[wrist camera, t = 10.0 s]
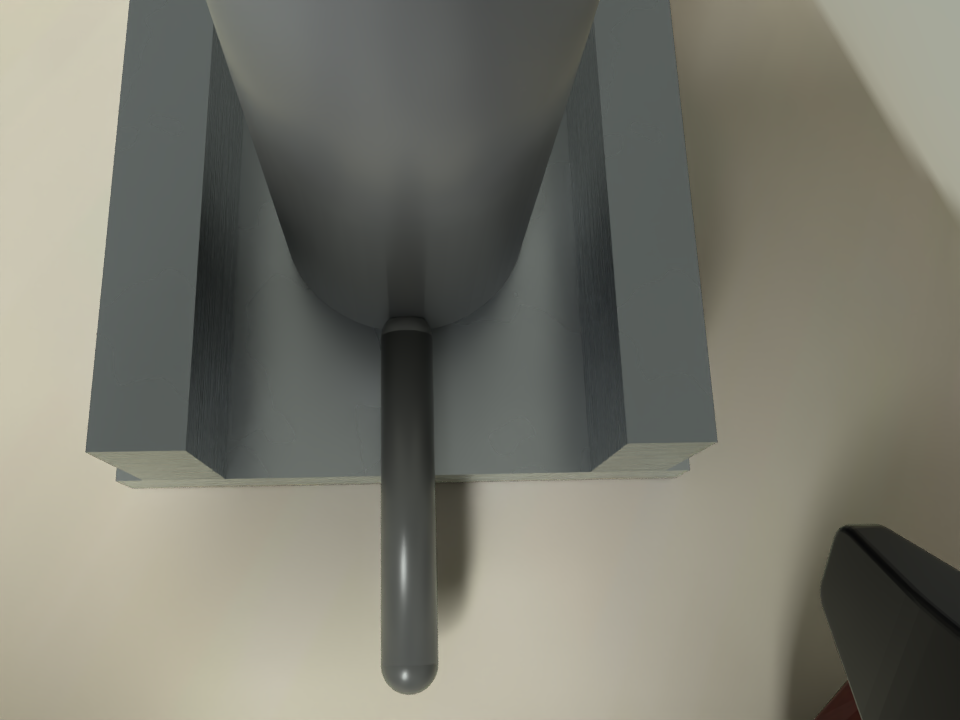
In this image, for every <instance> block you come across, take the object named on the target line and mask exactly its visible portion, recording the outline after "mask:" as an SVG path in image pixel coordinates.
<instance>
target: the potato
mask: <svg viewBox="0 0 960 720" xmlns="http://www.w3.org/2000/svg"><path fill="white" fill-rule="evenodd" d="M814 720H862V719H861V716H860V714H859V711H858V708H857V705H856V702H855V699H854V696H853V693H852V691H851V688H850V685H849V682H848V680H847V682H846V683H845V684H844V685H843V686H842V687H841V689H840V690H839V691H838V692H837V693H836V694H835V696H834V697H833V698H832V699H831V700H830V701H829V703H828V704H827V705H826V706H825V707H824V708H823V710H822V711H821V712H820V713H819V714H818V716H817V717H816V718H815V719H814Z"/></svg>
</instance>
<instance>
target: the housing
mask: <svg viewBox="0 0 960 720" xmlns="http://www.w3.org/2000/svg"><path fill="white" fill-rule="evenodd" d="M431 331H432V338H433V394H434V451H435V482H485V481H536V480H587V479H638V478H676V477H678V476H680V475H682V474H684V473H686V472H688V471H690V465H689V457H691V456H693V455H695V454H697V453H699V452H700V451H702V450H704V449H706V448H708V447H710V446H711V445H713V444H715V443H717V442H718V441H717V432H716V422H715V413H714V404H713V395H712V386H711V377H710V368H709V358H708V349H707V340H706V331H705V322H704V313H703V304H702V294H701V285H700V276H699V267H698V258H697V249H696V240H695V230H694V221H693V212H692V203H691V194H690V185H689V175H688V166H687V157H686V148H685V139H684V130H683V121H682V111H681V102H680V93H679V84H678V75H677V66H676V57H675V47H674V38H673V29H672V20H671V11H670V2H669V0H600V1H599V4H598V7H597V10H596V13H595V17H594V20H593V23H592V26H591V29H590V32H589V35H588V39H587V42H586V45H585V48H584V51H583V54H582V57H581V61H580V64H579V67H578V70H577V73H576V76H575V80H574V83H573V86H572V89H571V92H570V95H569V98H568V102H567V105H566V108H565V111H564V114H563V117H562V120H561V124H560V127H559V130H558V133H557V136H556V139H555V142H554V146H553V149H552V152H551V155H550V158H549V161H548V165H547V168H546V171H545V174H544V177H543V180H542V183H541V187H540V190H539V193H538V196H537V199H536V202H535V205H534V209H533V212H532V215H531V218H530V221H529V224H528V228H527V231H526V234H525V237H524V240H523V243H522V246H521V250H520V253H519V256H518V259H517V262H516V264H515V266H514V268H513V270H512V272H511V274H510V276H509V277H508V279H507V280H506V282H505V283H504V285H503V286H502V287H501V288H500V290H499V291H498V292H497V293H496V294H495V295H494V296H493V297H492V298H491V299H490V300H489V301H488V302H487V303H485V304H484V305H483V306H482V307H481V308H479V309H478V310H476V311H474V312H473V313H471V314H470V315H468V316H466V317H464V318H462V319H460V320H458V321H456V322H454V323H451V324H448V325H445V326H442V327H439V328H434V329H431ZM381 333H382V329H378V328H373V327H370V326H367V325H364V324H360V323H358V322H356V321H353V320H351V319H349V318H347V317H345V316H343V315H341V314H340V313H338V312H337V311H335V310H333V309H332V308H330V307H329V306H328V305H327V304H326V303H324V302H323V301H322V300H321V299H319V298H318V297H317V295H316V294H315V293H314V292H313V291H312V290H311V289H310V288H309V287H308V286H307V284H306V283H305V281H304V280H303V278H302V277H301V276H300V274H299V272H298V270H297V268H296V266H295V264H294V262H293V260H292V258H291V255H290V252H289V249H288V246H287V243H286V240H285V237H284V234H283V231H282V228H281V225H280V222H279V219H278V216H277V213H276V210H275V207H274V204H273V201H272V198H271V195H270V192H269V189H268V186H267V183H266V180H265V177H264V174H263V170H262V167H261V164H260V161H259V158H258V155H257V152H256V149H255V146H254V143H253V140H252V137H251V134H250V131H249V128H248V125H247V122H246V119H245V116H244V113H243V110H242V107H241V104H240V101H239V98H238V95H237V92H236V89H235V86H234V83H233V80H232V77H231V74H230V71H229V68H228V65H227V62H226V59H225V56H224V53H223V50H222V47H221V44H220V41H219V38H218V35H217V32H216V29H215V26H214V23H213V20H212V17H211V14H210V11H209V8H208V5H207V2H206V0H130V3H129V13H128V23H127V33H126V43H125V54H124V64H123V74H122V84H121V94H120V105H119V115H118V125H117V135H116V146H115V156H114V166H113V176H112V186H111V197H110V207H109V217H108V227H107V237H106V248H105V258H104V268H103V278H102V289H101V299H100V309H99V319H98V329H97V340H96V350H95V360H94V370H93V381H92V391H91V401H90V411H89V421H88V432H87V442H86V453H88V454H90V455H92V456H94V457H96V458H98V459H100V460H102V461H104V462H106V463H108V464H110V465H112V466H115V467H117V471H116V481H117V482H119V483H121V484H123V485H126V486H128V487H130V488H178V487H229V486H280V485H331V484H381Z"/></svg>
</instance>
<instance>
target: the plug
mask: <svg viewBox="0 0 960 720" xmlns="http://www.w3.org/2000/svg"><path fill="white" fill-rule="evenodd" d="M599 1H600V0H206V2H207V5H208V8H209V11H210V14H211V17H212V20H213V23H214V26H215V29H216V32H217V35H218V38H219V41H220V44H221V47H222V50H223V53H224V56H225V59H226V62H227V65H228V68H229V71H230V74H231V77H232V80H233V83H234V86H235V89H236V92H237V95H238V98H239V101H240V104H241V107H242V110H243V113H244V116H245V119H246V122H247V125H248V128H249V131H250V134H251V137H252V140H253V143H254V146H255V149H256V152H257V155H258V158H259V161H260V164H261V167H262V170H263V174H264V177H265V180H266V183H267V186H268V189H269V192H270V195H271V198H272V201H273V204H274V207H275V210H276V213H277V216H278V219H279V222H280V225H281V228H282V231H283V234H284V237H285V240H286V243H287V246H288V249H289V252H290V255H291V258H292V260H293V262H294V264H295V266H296V268H297V270H298V272H299V274H300V276H301V277H302V278H303V280H304V281H305V283H306V284H307V286H308V287H309V288H310V289H311V290H312V291H313V292H314V293H315V294H316V295H317V297H318V298H319V299H321V300H322V301H323V302H324V303H326V304H327V305H328V306H329V307H330V308H332V309H333V310H335V311H337V312H338V313H340V314H341V315H343V316H345V317H347V318H349V319H351V320H353V321H356V322H358V323H360V324H364V325H367V326H370V327H373V328H378V329H382V333H381V669H382V674H383V677H384V679H385V681H386V683H387V684H388V685H389V686H390V687H391V688H392V689H393V690H395V691H397V692H398V693H402V694H406V695H410V694H417V693H419V692H422V691H423V690H425V689H426V688H427V687H428V686H430V684H431V683H432V682H433V680H434V678H435V676H436V674H437V670H438V619H437V563H436V507H435V451H434V394H433V338H432V331H431V329H434V328H439V327H442V326H445V325H448V324H451V323H454V322H456V321H458V320H460V319H462V318H464V317H466V316H468V315H470V314H471V313H473V312H474V311H476V310H478V309H479V308H481V307H482V306H483V305H484V304H485V303H487V302H488V301H489V300H490V299H491V298H492V297H493V296H494V295H495V294H496V293H497V292H498V291H499V290H500V288H501V287H502V286H503V285H504V283H505V282H506V280H507V279H508V277H509V276H510V274H511V272H512V270H513V268H514V266H515V264H516V262H517V259H518V256H519V253H520V250H521V246H522V243H523V240H524V237H525V234H526V231H527V228H528V224H529V221H530V218H531V215H532V212H533V209H534V205H535V202H536V199H537V196H538V193H539V190H540V187H541V183H542V180H543V177H544V174H545V171H546V168H547V165H548V161H549V158H550V155H551V152H552V149H553V146H554V142H555V139H556V136H557V133H558V130H559V127H560V124H561V120H562V117H563V114H564V111H565V108H566V105H567V102H568V98H569V95H570V92H571V89H572V86H573V83H574V80H575V76H576V73H577V70H578V67H579V64H580V61H581V57H582V54H583V51H584V48H585V45H586V42H587V39H588V35H589V32H590V29H591V26H592V23H593V20H594V17H595V13H596V10H597V7H598V4H599Z"/></svg>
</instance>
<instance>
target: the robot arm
mask: <svg viewBox="0 0 960 720" xmlns="http://www.w3.org/2000/svg"><path fill="white" fill-rule="evenodd" d="M820 598H821V603H822V607H823V610H824V613H825V616H826V619H827V622H828V625H829V628H830V631H831V633H832V636H833V639H834V642H835V645H836V648H837V651H838V653H839V656H840V659H841V662H842V665H843V668H844V671H845V673H846V676H847V679H848V682H849V685H850V688H851V691H852V693H853V696H854V699H855V702H856V705H857V708H858V711H859V714H860V716H861V719H862V720H960V571H958V570H957V569H955V568H953V567H952V566H950V565H948V564H947V563H945V562H943V561H942V560H940V559H938V558H937V557H935V556H933V555H932V554H930V553H928V552H927V551H925V550H923V549H922V548H920V547H918V546H916V545H915V544H913V543H911V542H910V541H908V540H906V539H905V538H903V537H901V536H900V535H898V534H896V533H895V532H893V531H891V530H890V529H888V528H886V527H884V526H882V525H879V524H852V525H845V526H842V527H841V528H839V530H838V531H837V532H836V534H835V537H834V540H833V543H832V546H831V550H830V553H829V557H828V560H827V563H826V567H825V570H824V574H823V577H822V581H821V586H820Z"/></svg>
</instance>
